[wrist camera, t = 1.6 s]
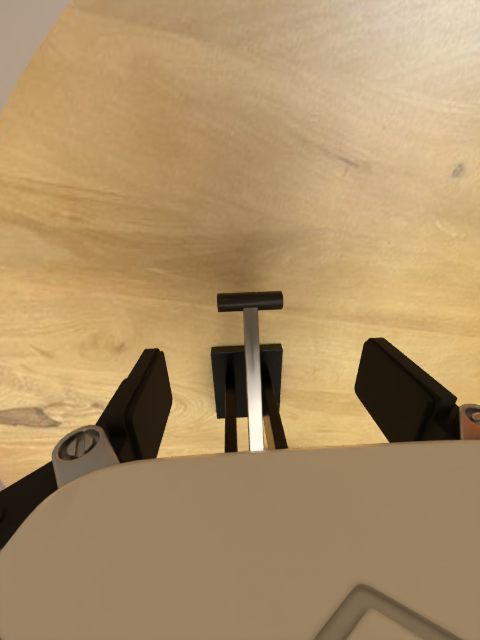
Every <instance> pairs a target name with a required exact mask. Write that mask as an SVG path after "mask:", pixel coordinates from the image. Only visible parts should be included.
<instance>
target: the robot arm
mask: <svg viewBox="0 0 480 640" xmlns="http://www.w3.org/2000/svg"><path fill="white" fill-rule="evenodd" d="M355 393H356V395H357V397H358V398H359V399H360V401H361V402H362V404H363V405H364V407H365V408H366V409H367V411H368V412H369V414H370V415H371V417H372V418H373V419H374V421H375V422H376V424H377V425H378V427H379V428H380V430H381V431H382V432H383V434H384V435H385V437H386V438H387V440H388V441H389V442H390V443H378V444H359V445H342V446H325V447H308V448H292V449H276V450H260V451H245V452H230V453H215V454H200V455H188V456H175V457H164V458H156V457H157V454H158V450H159V447H160V444H161V440H162V437H163V433H164V430H165V426H166V423H167V420H168V416H169V413H170V409H171V406H172V393H171V388H170V382H169V377H168V372H167V367H166V361H165V356H164V352H163V351H160V350H159V349H158V348H154V349H145V350H144V351H143V353H142V355H141V356H140V358H139V360H138V361H137V363H136V364H135V366H134V368H133V369H132V371H131V373H130V374H129V376H128V378H127V379H124V380H123V381H122V383H121V384H120V386H119V388H118V389H117V391H116V392H115V394H114V396H113V397H112V399H111V400H110V402H109V404H108V405H107V407H106V408H105V410H104V412H103V413H102V415H101V416H100V418H99V420H98V421H97V423H96V425H88V426H84V427H81V428H78V429H76V430H74V431H72V432H70V433H69V434H67V435H66V436H65V437H64V438H62V439H61V440H60V441H59V442H58V444H57V445H56V446H55V448H54V450H53V452H52V461H51V462H49V463H47V464H46V465H44V466H42V467H41V468H39V469H37V470H36V471H34V472H32V473H31V474H29V475H27V476H26V477H24V478H22V479H20V480H19V481H17V482H15V483H14V484H12V485H10V486H9V487H7V488H5V489H4V490H2V491H0V640H480V405H477V404H463V405H462V406H460V407H458V406H457V405H456V404H455V402H456V400H457V397H456V396H454V395H453V394H452V393H451V392H450V391H448V390H447V389H446V388H445V387H443V386H442V385H441V384H440V383H438V382H437V381H436V380H435V379H434V378H432V377H431V376H430V375H429V374H427V373H426V372H425V371H424V370H423V369H421V368H420V367H419V366H418V365H416V364H415V363H414V362H413V361H412V360H410V359H409V358H408V357H407V356H405V355H404V354H403V353H402V352H400V351H399V350H398V349H397V348H396V347H394V346H393V345H392V344H391V343H389V342H388V341H387V340H386V339H384V338H369V339H368V340H367V341H366V342H365V343H364V345H363V350H362V355H361V359H360V364H359V368H358V373H357V378H356V382H355Z"/></svg>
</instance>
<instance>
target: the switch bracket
mask: <svg viewBox="0 0 480 640" xmlns="http://www.w3.org/2000/svg"><path fill="white" fill-rule="evenodd" d="M259 348H260V371H261V393H262V415H263V420H264V426H265V432H266V438H267V444H268V450H276V449H288V446H287V442H286V438H285V434H284V430H283V426H282V422H281V418H280V414H279V408H280V390H281V372H282V354H283V349H282V346H281V344H272V345H259ZM211 360H212V370H213V381H214V391H215V402H216V412H217V419H221V418H225V453H230V452H238V445H237V419H236V418H239V417H248V412H247V389H246V367H245V346H231V347H212V348H211Z"/></svg>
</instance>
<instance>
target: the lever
mask: <svg viewBox="0 0 480 640" xmlns="http://www.w3.org/2000/svg"><path fill="white" fill-rule="evenodd" d="M217 306H218V312H233V311H243V323H244V345H245V367H246V389H247V412H248V434H249V451H260V450H264V437H263V415H262V393H261V371H260V348H259V326H258V310H278V309H282V308H283V294H282V291H268V292H244V293H221V294H217Z"/></svg>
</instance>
